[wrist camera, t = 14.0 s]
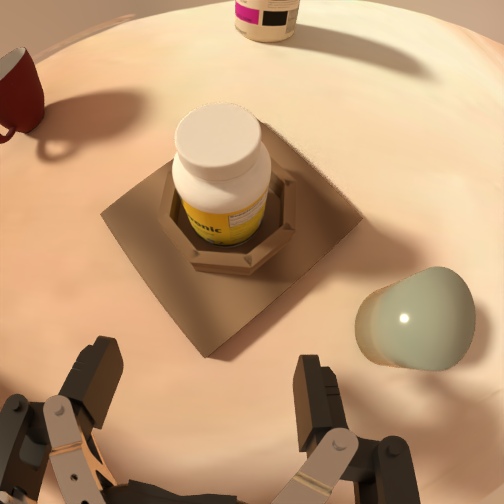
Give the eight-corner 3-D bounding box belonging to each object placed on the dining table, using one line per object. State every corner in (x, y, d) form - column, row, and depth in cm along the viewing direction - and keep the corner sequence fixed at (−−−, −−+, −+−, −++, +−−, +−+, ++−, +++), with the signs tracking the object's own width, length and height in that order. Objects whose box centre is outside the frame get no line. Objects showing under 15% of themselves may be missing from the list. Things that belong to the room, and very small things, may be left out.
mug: (46, 149, 24) (2, 92, 15) (-1, 170, 24) (-46, 126, 14) (63, 90, 27) (35, 37, 18) (18, 111, 27) (-13, 66, 17)
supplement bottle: (177, 209, 22) (141, 125, 12) (235, 172, 23) (233, 78, 13) (216, 265, 21) (198, 204, 11) (277, 223, 22) (302, 141, 12)
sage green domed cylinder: (387, 381, 20) (439, 392, 13) (338, 326, 21) (381, 319, 14) (431, 325, 21) (486, 315, 14) (389, 272, 22) (438, 246, 16)
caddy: (206, 357, 20) (200, 360, 16) (105, 219, 22) (87, 201, 19) (357, 224, 23) (374, 205, 20) (248, 120, 26) (250, 94, 23)
